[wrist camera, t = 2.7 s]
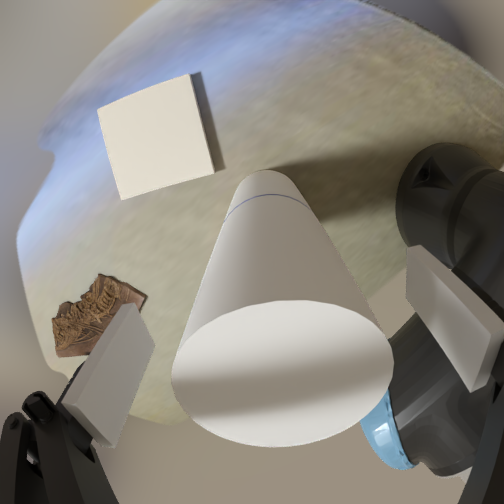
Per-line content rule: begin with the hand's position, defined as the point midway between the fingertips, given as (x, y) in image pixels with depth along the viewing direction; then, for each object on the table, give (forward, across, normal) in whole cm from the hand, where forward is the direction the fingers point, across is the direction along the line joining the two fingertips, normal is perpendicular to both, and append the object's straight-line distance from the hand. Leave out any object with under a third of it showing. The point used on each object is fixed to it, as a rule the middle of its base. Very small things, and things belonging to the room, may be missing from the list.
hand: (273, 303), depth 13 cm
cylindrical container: (+20, 0, 0) cm, 20 cm away
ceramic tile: (+20, +10, -10) cm, 24 cm away
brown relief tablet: (+20, +30, +12) cm, 38 cm away
